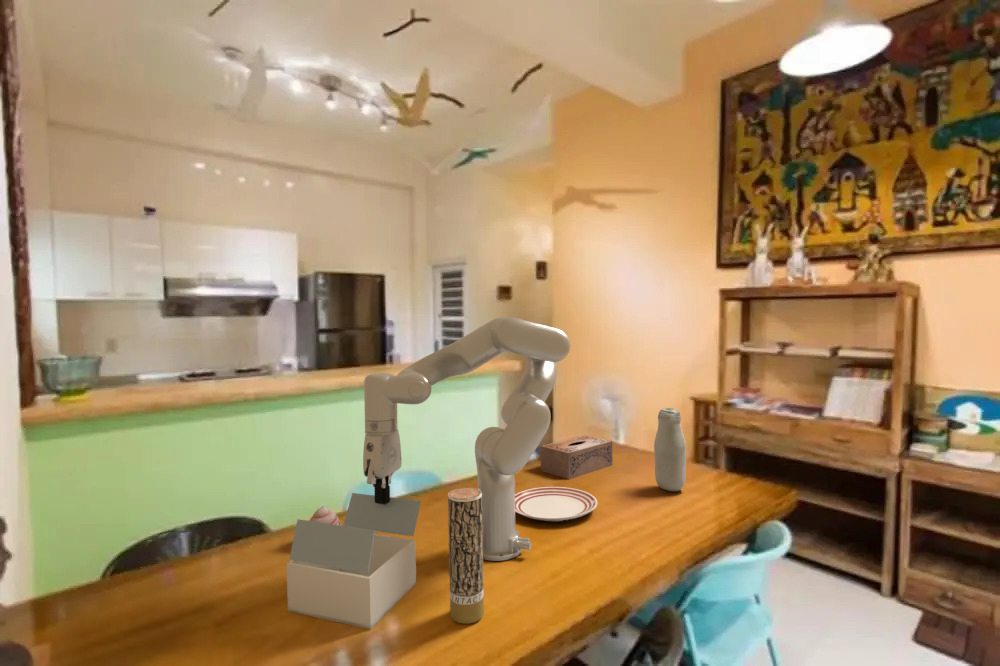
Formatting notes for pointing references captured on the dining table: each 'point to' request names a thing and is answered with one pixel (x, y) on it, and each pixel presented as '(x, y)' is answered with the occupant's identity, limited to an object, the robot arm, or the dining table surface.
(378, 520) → the flap far
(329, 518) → the cupcake
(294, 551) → the flap near
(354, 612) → the carton
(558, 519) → the dinner plate
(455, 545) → the paper tube
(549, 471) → the tissue box cover
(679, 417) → the glass bottle
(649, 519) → the dining table surface
